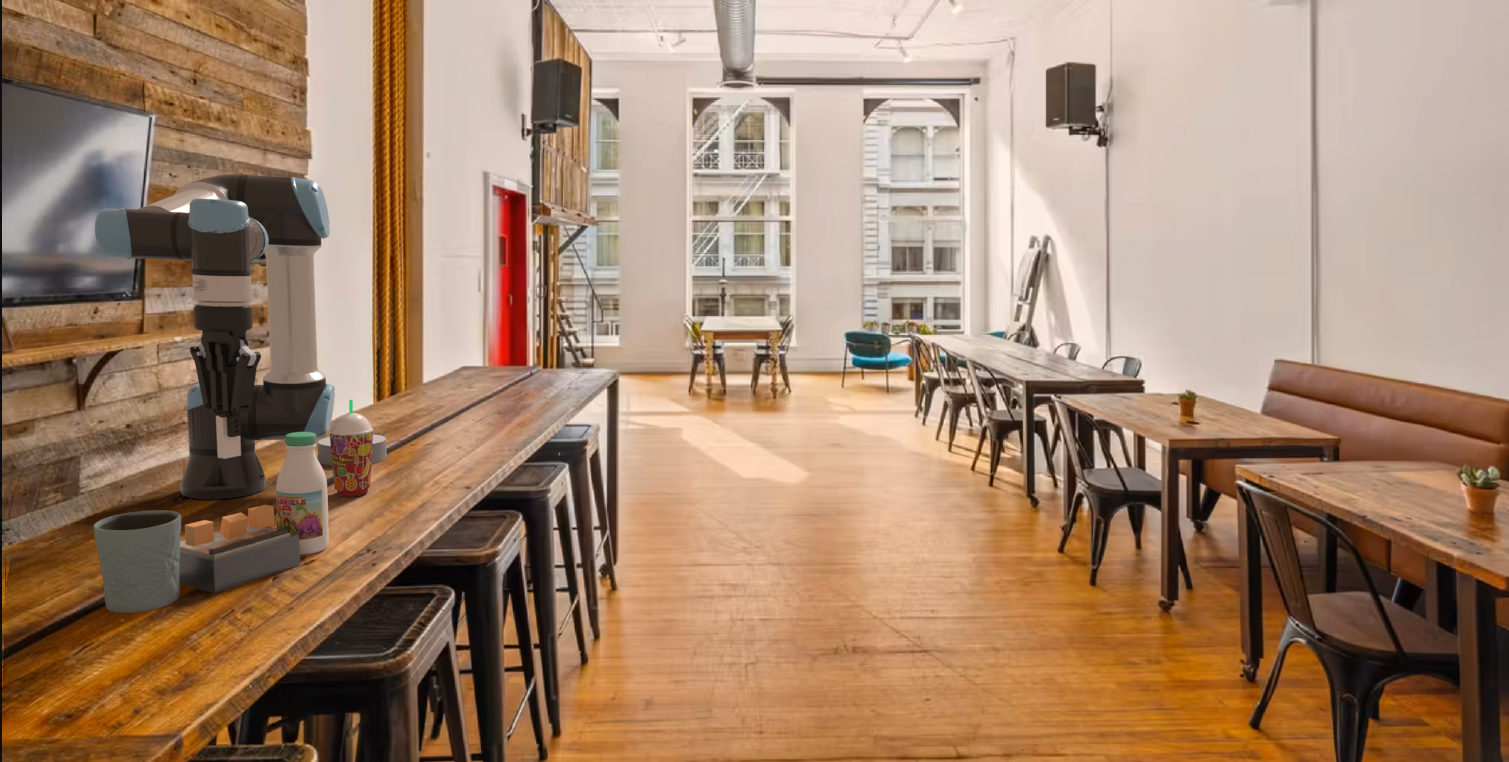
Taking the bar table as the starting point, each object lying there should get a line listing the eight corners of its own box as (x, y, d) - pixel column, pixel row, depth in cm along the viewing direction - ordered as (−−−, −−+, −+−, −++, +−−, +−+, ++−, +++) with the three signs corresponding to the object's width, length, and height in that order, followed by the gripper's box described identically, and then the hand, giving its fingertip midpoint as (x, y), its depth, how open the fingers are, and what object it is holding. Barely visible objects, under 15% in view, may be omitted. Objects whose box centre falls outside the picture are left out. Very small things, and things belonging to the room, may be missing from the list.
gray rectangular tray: (162, 578, 130) (160, 540, 129) (249, 552, 143) (247, 517, 142) (215, 593, 125) (213, 554, 124) (299, 564, 138) (298, 529, 137)
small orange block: (219, 534, 132) (222, 517, 131) (237, 528, 135) (241, 512, 134) (227, 539, 131) (231, 523, 130) (246, 534, 134) (249, 518, 133)
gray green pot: (130, 620, 115) (125, 534, 114) (80, 607, 119) (75, 523, 117) (201, 594, 125) (198, 515, 123) (153, 583, 128) (149, 505, 126)
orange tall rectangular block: (185, 544, 127) (184, 525, 127) (205, 538, 130) (204, 520, 130) (194, 546, 127) (193, 527, 126) (214, 541, 129) (213, 522, 129)
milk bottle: (290, 541, 149) (286, 428, 146) (336, 542, 149) (333, 430, 147) (269, 556, 141) (265, 437, 138) (317, 557, 142) (314, 439, 139)
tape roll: (303, 462, 204) (302, 442, 204) (350, 450, 219) (350, 431, 218) (355, 469, 200) (355, 448, 199) (400, 456, 214) (400, 437, 214)
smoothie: (321, 495, 177) (319, 400, 174) (353, 486, 185) (352, 395, 182) (351, 501, 174) (349, 404, 171) (383, 491, 182) (381, 399, 179)
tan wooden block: (248, 527, 137) (247, 508, 136) (265, 522, 139) (265, 504, 139) (257, 529, 136) (256, 510, 135) (274, 524, 139) (273, 506, 138)
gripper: (169, 301, 127) (177, 455, 131) (228, 307, 122) (234, 467, 126) (218, 300, 134) (224, 446, 138) (275, 305, 129) (280, 457, 133)
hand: (229, 456), depth 132 cm, fingers closed
